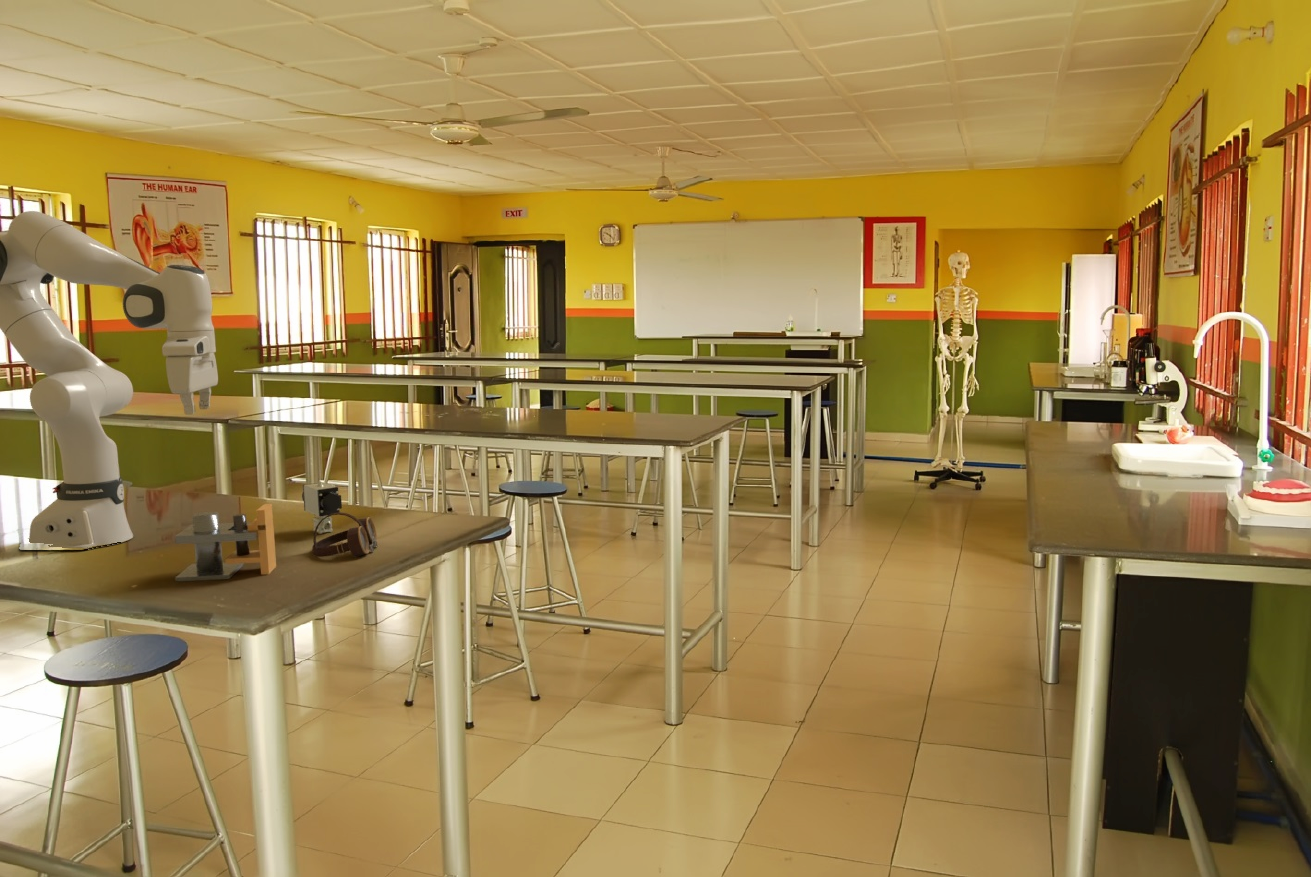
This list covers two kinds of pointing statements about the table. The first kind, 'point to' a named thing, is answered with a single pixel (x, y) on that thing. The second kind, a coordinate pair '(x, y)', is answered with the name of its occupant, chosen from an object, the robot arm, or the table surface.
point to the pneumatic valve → (321, 504)
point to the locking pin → (241, 524)
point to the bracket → (260, 542)
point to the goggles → (348, 539)
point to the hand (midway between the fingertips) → (197, 411)
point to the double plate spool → (210, 547)
